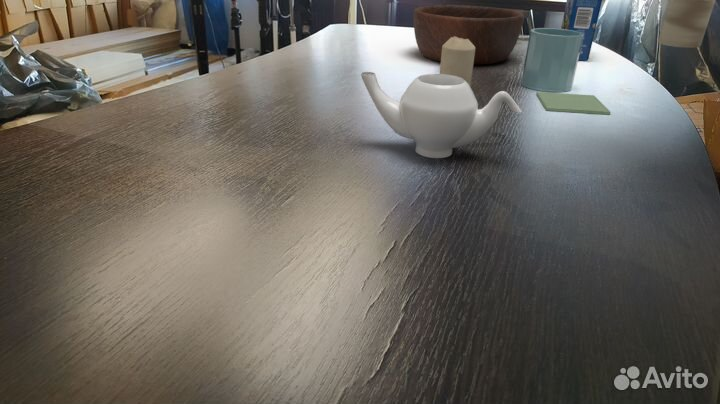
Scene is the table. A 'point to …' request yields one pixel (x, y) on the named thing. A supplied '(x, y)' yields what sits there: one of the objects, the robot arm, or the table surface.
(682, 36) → the brush
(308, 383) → the table surface
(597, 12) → the blue food package
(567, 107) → the mat
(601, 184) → the table surface
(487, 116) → the teapot
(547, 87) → the cup
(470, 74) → the candle
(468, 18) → the wooden bowl
